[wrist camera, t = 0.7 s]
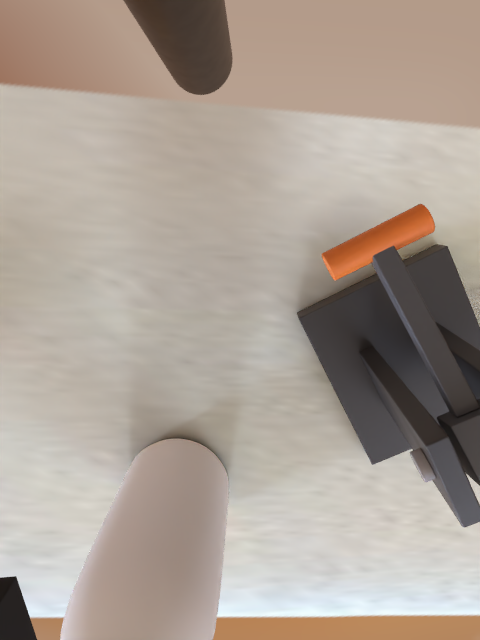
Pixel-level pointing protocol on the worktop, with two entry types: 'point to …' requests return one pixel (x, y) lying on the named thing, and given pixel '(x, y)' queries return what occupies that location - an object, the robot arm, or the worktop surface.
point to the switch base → (400, 370)
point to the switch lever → (417, 322)
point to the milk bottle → (156, 551)
